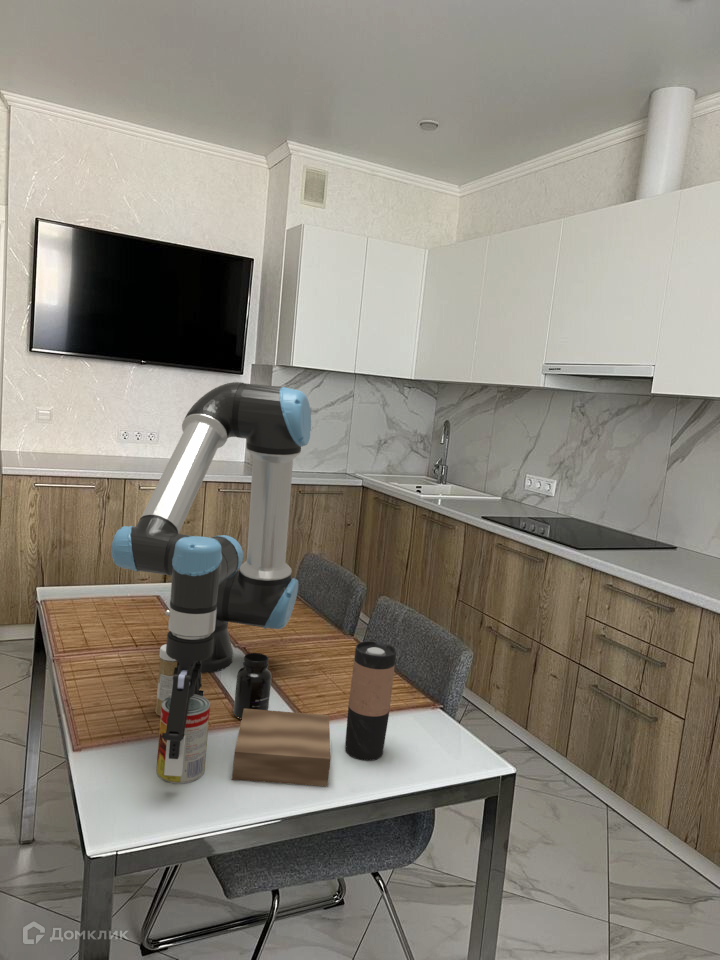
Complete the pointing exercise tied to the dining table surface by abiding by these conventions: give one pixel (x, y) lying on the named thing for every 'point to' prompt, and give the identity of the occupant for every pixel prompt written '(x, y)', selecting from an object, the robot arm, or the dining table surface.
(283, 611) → the robot arm
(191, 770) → the canned food
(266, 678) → the supplement bottle
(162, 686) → the sprinkles bottle
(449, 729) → the dining table surface
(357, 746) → the travel mug
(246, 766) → the walnut riser
